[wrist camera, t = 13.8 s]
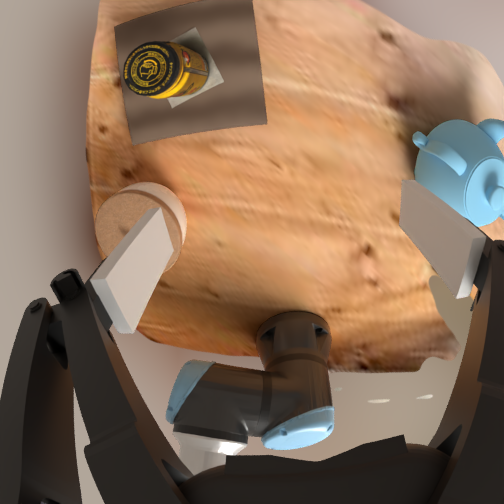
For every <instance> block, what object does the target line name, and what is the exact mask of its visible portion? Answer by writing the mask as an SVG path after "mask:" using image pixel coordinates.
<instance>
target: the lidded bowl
mask: <svg viewBox="0 0 504 504" xmlns="http://www.w3.org/2000/svg"><path fill="white" fill-rule="evenodd" d="M158 207H161V210H162V213H163V217H164V220H165V223H166V227H167V230H168V233H169V237H170V240H171V243H172V246H173V250H174V251H173V253H172V255H171V257H170V259H169V261H168V263H167V265H166V267H165V269H164V271H163V273H164V272H166V271H168V270H169V269H170V268H171V267H172V266H173V265H174V264H175V262H176V261H177V259H178V257H179V255H180V252H181V248H182V246H183V243H184V240H185V236H186V229H187V218H186V213H185V210H184V207H183V205H182V203H181V201H180V200H179V198H178V197H177V196H176V195H175V194H174V193H173V192H172V191H171V190H170V189H168V188H167V187H165V186H163V185H161V184H158V183H153V182H139V183H135V184H132V185H129V186H127V187H125V188H123V189H121V190H120V191H118V192H117V193H115V194H114V195H112V196H110V197H109V198H108V199H107V200H106V201H105V202H104V203H103V204H102V205H101V207H100V208H99V210H98V212H97V215H96V219H95V232H96V237H97V240H98V243H99V245H100V247H101V249H102V251H103V252H104V254H105V255H106V256H107V257H108V256H109V255H110V254H111V252H112V251H113V250H114V249H115V247H116V246H117V245H118V244H119V243H120V241H121V240H122V239H123V238H124V237H125V235H126V234H127V233H128V232H129V231H130V230H131V228H132V227H133V226H134V225H135V224H136V223H137V222H138V220H139V219H140V218H141V217H142V216H143V215H144V214H145V213H146V211H147V210H148V209H153V208H158Z"/></svg>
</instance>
